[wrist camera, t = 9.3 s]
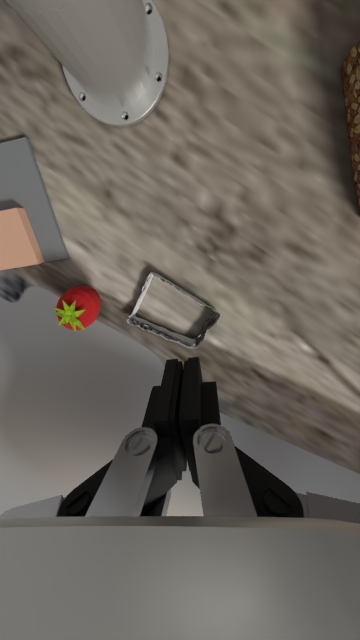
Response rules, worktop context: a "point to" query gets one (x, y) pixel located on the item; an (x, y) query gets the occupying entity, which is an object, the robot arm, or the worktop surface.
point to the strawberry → (78, 307)
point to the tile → (17, 240)
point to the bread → (353, 108)
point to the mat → (29, 196)
